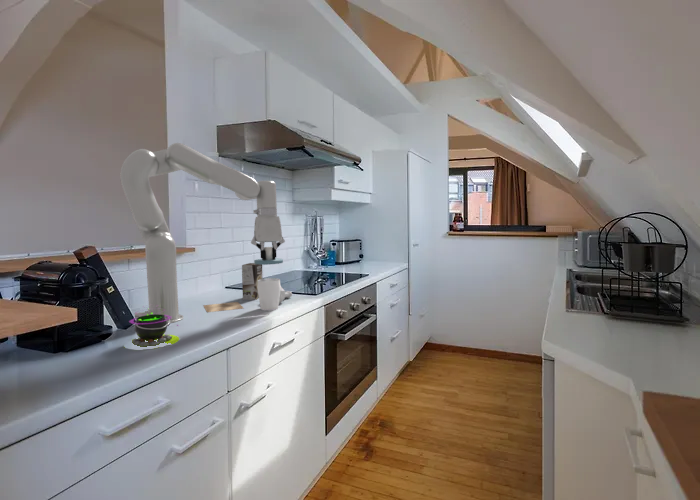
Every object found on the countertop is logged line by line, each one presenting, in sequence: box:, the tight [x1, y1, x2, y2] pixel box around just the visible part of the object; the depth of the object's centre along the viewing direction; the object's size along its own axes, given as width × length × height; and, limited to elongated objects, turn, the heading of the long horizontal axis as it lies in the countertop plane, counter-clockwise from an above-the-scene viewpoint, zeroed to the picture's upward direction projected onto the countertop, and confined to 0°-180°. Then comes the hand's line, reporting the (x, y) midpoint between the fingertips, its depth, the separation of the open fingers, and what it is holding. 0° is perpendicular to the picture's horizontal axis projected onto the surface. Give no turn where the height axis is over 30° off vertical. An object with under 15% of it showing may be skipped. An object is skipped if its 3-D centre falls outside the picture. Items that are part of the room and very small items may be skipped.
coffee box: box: [241, 262, 264, 301], centre depth 182 cm, size 9×6×16 cm
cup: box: [257, 277, 282, 311], centre depth 160 cm, size 9×9×12 cm
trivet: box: [203, 301, 245, 313], centre depth 164 cm, size 14×14×1 cm
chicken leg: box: [279, 286, 293, 304], centre depth 176 cm, size 8×18×8 cm, turn 164°
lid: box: [253, 246, 284, 266], centre depth 159 cm, size 11×11×6 cm
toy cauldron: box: [129, 305, 180, 347], centre depth 119 cm, size 15×15×11 cm
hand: (268, 259), depth 159 cm, fingers closed on lid, 3 cm apart
